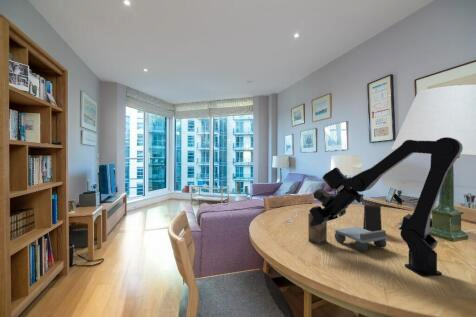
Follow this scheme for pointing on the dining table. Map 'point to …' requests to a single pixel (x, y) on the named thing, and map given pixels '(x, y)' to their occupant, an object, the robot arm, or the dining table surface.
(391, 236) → the dining table surface
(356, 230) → the dolly
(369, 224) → the door stopper
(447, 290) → the dining table surface
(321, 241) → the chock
